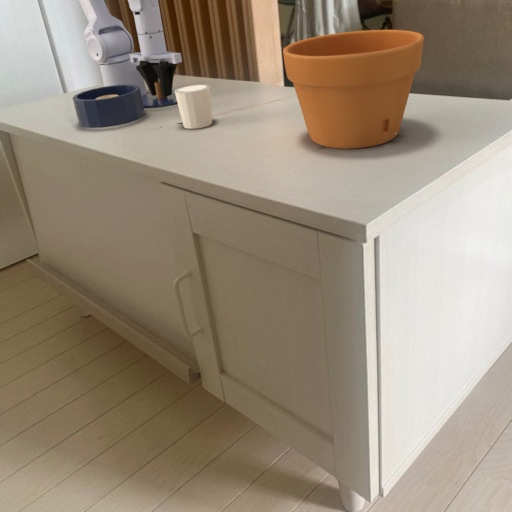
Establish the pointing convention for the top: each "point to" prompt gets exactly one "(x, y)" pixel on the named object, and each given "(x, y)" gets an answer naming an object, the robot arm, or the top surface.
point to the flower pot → (354, 84)
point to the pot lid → (158, 98)
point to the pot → (109, 106)
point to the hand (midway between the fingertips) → (161, 95)
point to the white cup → (195, 105)
